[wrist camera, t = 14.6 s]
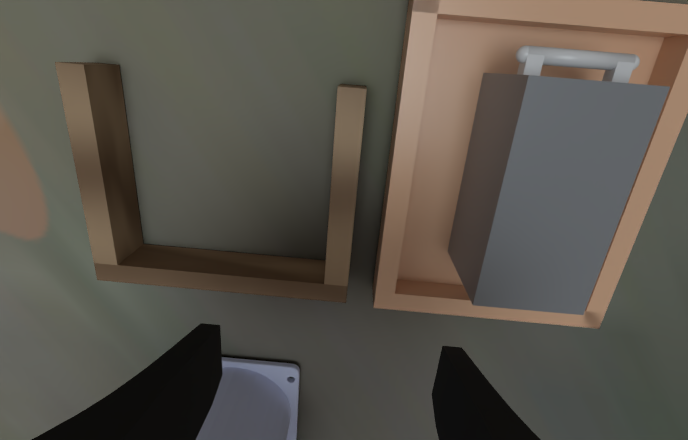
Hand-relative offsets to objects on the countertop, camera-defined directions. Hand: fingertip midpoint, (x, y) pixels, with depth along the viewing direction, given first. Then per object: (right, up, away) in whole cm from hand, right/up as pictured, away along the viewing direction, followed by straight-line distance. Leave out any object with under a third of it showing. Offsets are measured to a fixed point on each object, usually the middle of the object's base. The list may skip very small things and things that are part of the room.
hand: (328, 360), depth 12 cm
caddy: (+9, +7, +6) cm, 13 cm away
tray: (+9, +7, +7) cm, 13 cm away
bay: (-5, +7, +7) cm, 12 cm away
